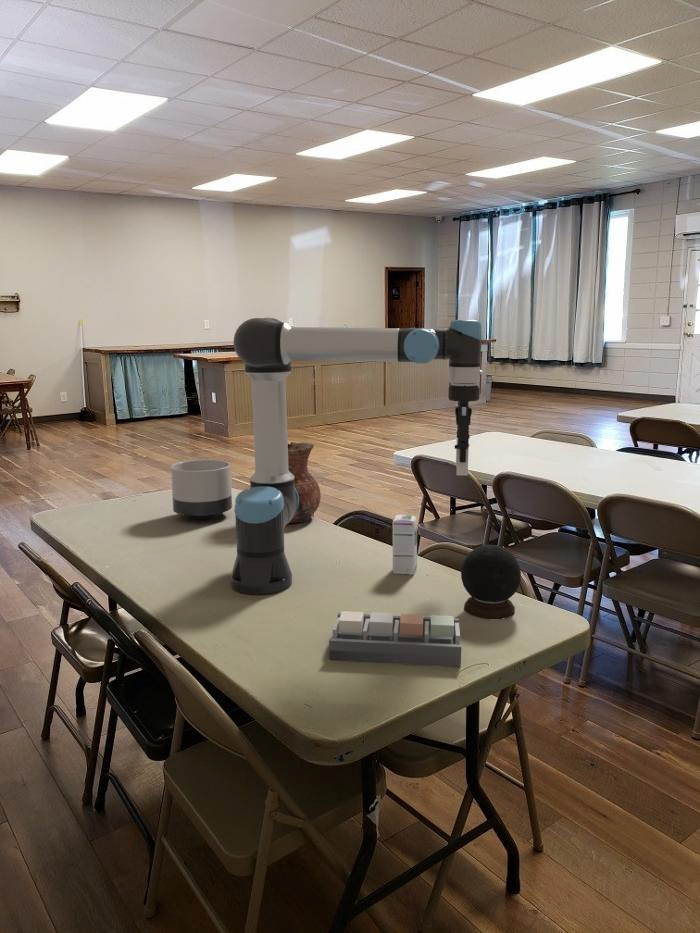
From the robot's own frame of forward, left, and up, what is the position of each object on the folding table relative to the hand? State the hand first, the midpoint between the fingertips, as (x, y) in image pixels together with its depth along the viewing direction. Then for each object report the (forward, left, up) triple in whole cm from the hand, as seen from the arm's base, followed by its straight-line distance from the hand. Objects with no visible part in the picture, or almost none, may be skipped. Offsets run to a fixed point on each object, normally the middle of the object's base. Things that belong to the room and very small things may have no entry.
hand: (461, 469), depth 175 cm
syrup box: (-14, +1, -28) cm, 31 cm away
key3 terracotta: (-11, -43, -24) cm, 51 cm away
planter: (-83, +46, -28) cm, 99 cm away
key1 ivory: (-23, -43, -24) cm, 54 cm away
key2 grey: (-17, -43, -24) cm, 52 cm away
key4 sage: (-5, -43, -24) cm, 50 cm away
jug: (-54, +47, -28) cm, 77 cm away
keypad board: (-14, -44, -28) cm, 54 cm away
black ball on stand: (+6, -22, -28) cm, 36 cm away
